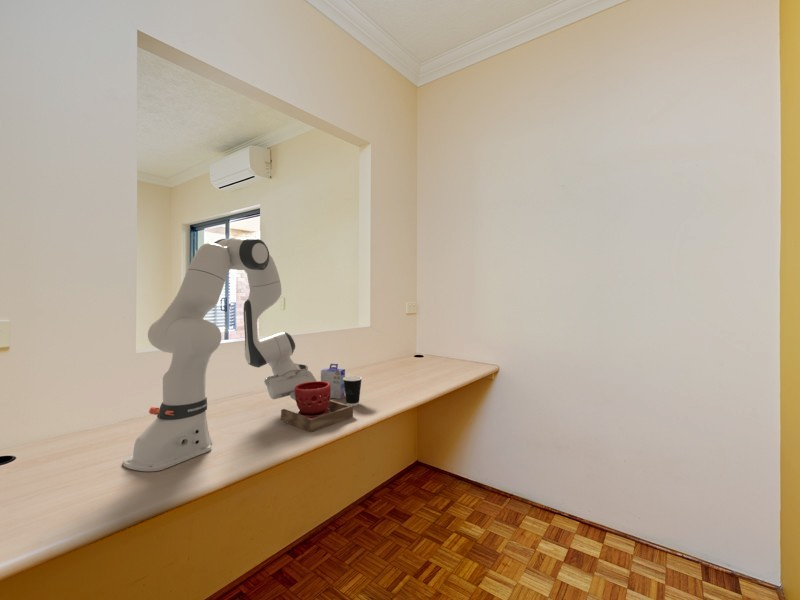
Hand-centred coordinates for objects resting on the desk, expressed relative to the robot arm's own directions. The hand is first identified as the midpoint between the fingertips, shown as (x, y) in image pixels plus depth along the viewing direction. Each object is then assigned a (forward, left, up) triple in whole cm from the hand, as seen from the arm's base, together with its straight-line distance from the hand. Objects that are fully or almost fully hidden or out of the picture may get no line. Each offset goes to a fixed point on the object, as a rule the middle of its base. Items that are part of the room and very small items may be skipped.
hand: (301, 402), depth 142 cm
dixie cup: (+17, -14, -5) cm, 22 cm away
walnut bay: (-3, -9, -4) cm, 10 cm away
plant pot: (-2, -6, -4) cm, 8 cm away
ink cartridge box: (+24, -1, -5) cm, 24 cm away
